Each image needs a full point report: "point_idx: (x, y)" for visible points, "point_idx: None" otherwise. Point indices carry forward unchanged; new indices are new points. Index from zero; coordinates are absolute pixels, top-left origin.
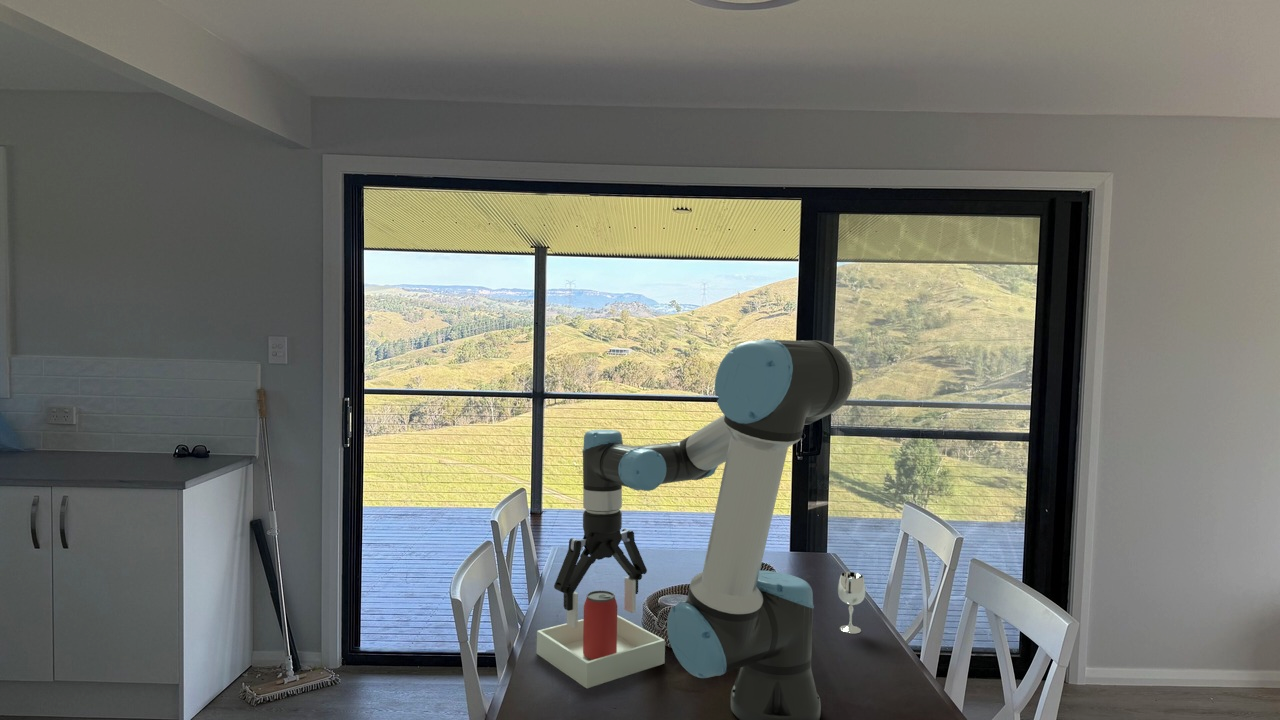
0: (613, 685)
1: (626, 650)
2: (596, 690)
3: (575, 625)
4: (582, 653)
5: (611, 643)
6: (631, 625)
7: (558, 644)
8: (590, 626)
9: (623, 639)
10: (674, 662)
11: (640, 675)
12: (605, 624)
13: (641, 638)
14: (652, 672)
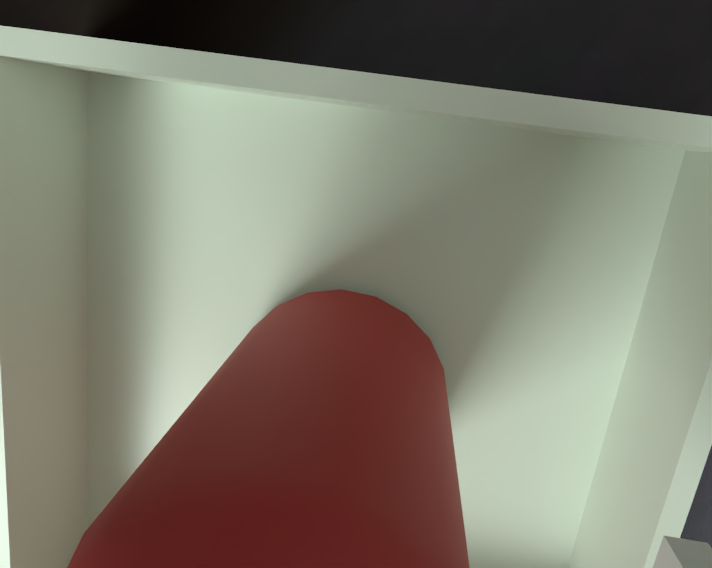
0: (546, 43)
1: (363, 92)
2: (678, 66)
3: (708, 563)
4: None
5: (322, 320)
6: (10, 428)
7: None
8: (461, 507)
9: (89, 439)
10: (17, 18)
11: (312, 30)
12: (363, 412)
13: (43, 293)
14: (223, 7)
